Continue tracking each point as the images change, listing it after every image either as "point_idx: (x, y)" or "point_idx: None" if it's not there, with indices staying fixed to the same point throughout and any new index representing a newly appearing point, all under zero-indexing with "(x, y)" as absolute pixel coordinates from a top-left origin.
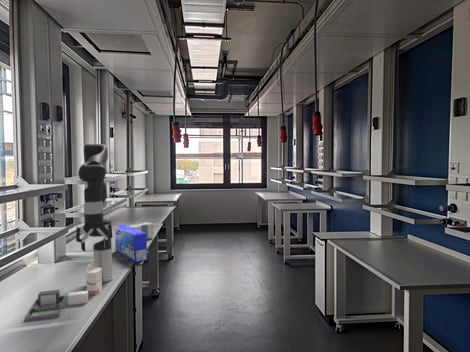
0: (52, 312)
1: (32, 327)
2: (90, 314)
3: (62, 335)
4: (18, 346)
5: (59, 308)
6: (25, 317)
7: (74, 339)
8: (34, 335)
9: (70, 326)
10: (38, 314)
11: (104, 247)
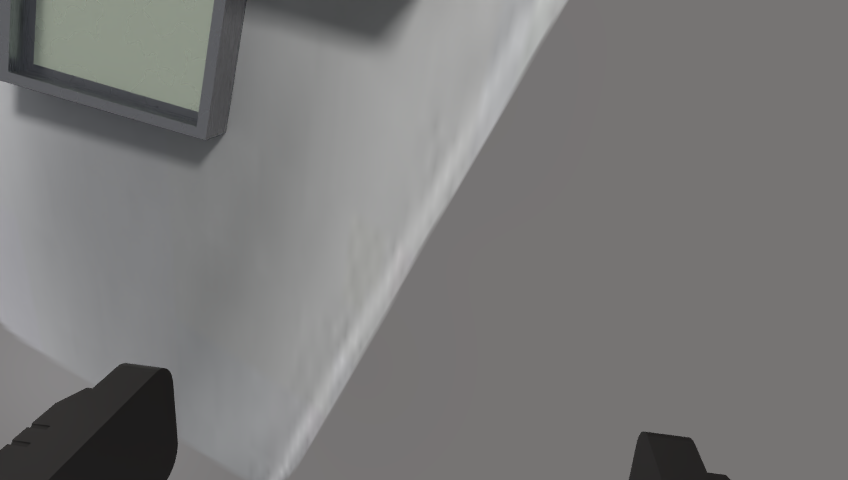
0: (174, 32)
1: (82, 155)
2: (425, 169)
3: (243, 361)
4: (50, 349)
5: (211, 43)
6: (2, 79)
7: (296, 438)
8: (107, 273)
9: (288, 277)
10: (84, 8)
11: (639, 463)
